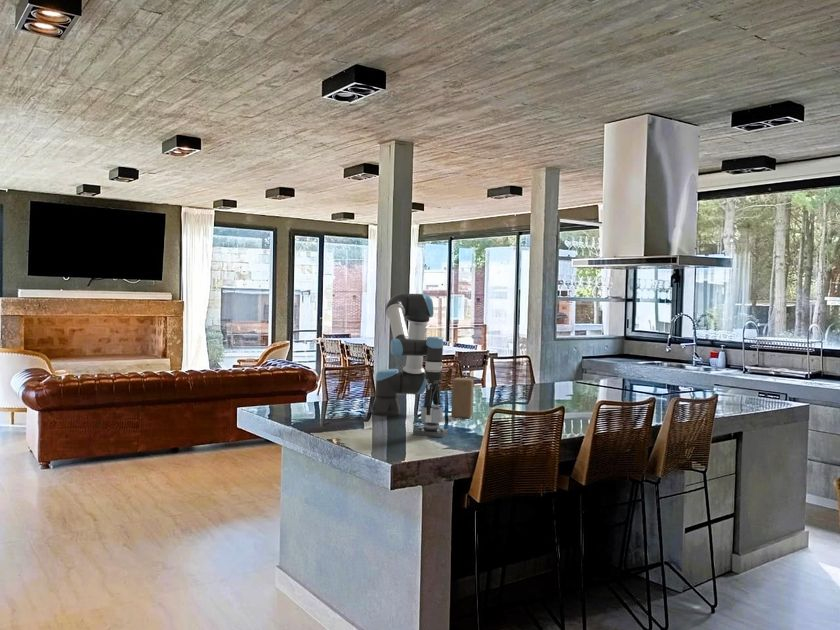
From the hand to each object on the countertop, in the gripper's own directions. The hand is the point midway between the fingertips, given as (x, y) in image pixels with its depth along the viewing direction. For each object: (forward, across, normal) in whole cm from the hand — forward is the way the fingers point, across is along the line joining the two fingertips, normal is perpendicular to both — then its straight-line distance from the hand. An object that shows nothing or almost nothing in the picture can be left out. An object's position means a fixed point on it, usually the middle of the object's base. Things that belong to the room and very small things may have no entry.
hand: (431, 420), depth 321 cm
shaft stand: (+6, 0, 0) cm, 6 cm away
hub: (0, 0, 0) cm, 0 cm away
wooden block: (+6, +54, 0) cm, 55 cm away
